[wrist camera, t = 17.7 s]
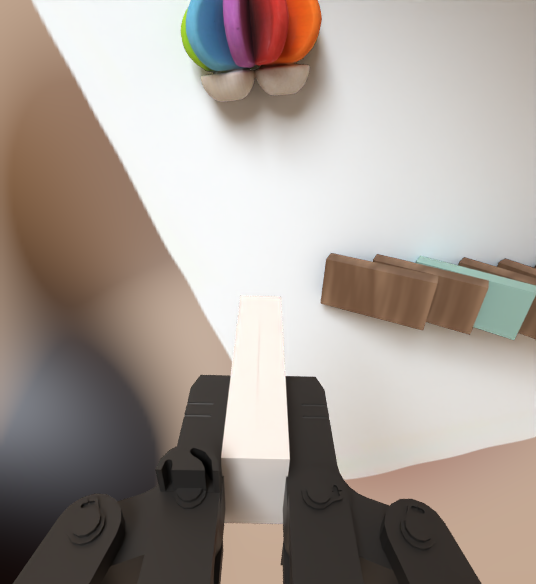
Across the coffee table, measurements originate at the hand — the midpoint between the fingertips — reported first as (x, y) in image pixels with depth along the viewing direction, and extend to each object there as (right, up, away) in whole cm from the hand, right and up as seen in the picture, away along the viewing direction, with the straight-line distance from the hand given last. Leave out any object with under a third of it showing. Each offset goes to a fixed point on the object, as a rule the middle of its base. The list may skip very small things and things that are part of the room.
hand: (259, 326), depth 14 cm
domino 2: (+11, +3, +23) cm, 26 cm away
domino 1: (+6, +3, +23) cm, 24 cm away
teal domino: (+15, +2, +24) cm, 28 cm away
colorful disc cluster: (-1, +21, +14) cm, 25 cm away
